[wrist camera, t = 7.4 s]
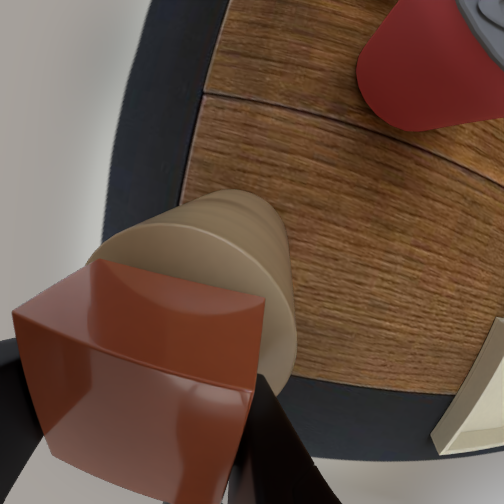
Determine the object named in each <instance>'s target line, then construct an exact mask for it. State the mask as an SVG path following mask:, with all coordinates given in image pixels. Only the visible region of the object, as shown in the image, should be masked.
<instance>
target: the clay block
mask: <svg viewBox="0 0 504 504" xmlns="http://www.w3.org/2000/svg"><path fill="white" fill-rule="evenodd" d="M265 303H266V298H264V297H260V296H256V295H251V294H246V293H242V292H237V291H232V290H228V289H223V288H219V287H215V286H210V285H206V284H201V283H197V282H193V281H188V280H184V279H180V278H176V277H172V276H168V275H163V274H159V273H155V272H151V271H147V270H143V269H139V268H135V267H131V266H127V265H123V264H120V263H116V262H112V261H108V260H104V259H101V258H98V259H96V260H95V261H93V262H91V263H89V264H88V265H86V266H84V267H83V268H81V269H79V270H77V271H76V272H74V273H72V274H71V275H69V276H67V277H66V278H64V279H62V280H61V281H59V282H57V283H56V284H54V285H52V286H51V287H49V288H47V289H46V290H44V291H42V292H41V293H39V294H38V295H36V296H34V297H33V298H31V299H30V300H28V301H27V302H25V303H23V304H22V305H20V306H19V307H17V308H16V309H14V310H13V311H12V318H13V325H14V330H15V335H16V341H17V346H18V350H19V355H20V359H21V363H22V367H23V371H24V375H25V379H26V382H27V386H28V389H29V393H30V396H31V399H32V403H33V406H34V409H35V412H36V415H37V418H38V420H39V423H40V426H41V429H42V431H43V434H44V437H45V439H46V442H47V444H48V446H49V449H50V452H51V454H52V455H53V456H55V457H56V458H58V459H60V460H62V461H65V462H66V463H68V464H70V465H72V466H74V467H76V468H78V469H80V470H82V471H85V472H87V473H89V474H91V475H93V476H96V477H98V478H100V479H103V480H105V481H107V482H110V483H112V484H115V485H117V486H120V487H122V488H125V489H128V490H131V491H133V492H136V493H139V494H142V495H145V496H148V497H151V498H154V499H157V500H161V501H164V502H168V503H171V504H221V502H222V499H223V496H224V493H225V490H226V487H227V484H228V481H229V478H230V474H231V471H232V468H233V465H234V461H235V458H236V455H237V452H238V448H239V445H240V442H241V438H242V435H243V432H244V428H245V425H246V421H247V418H248V415H249V411H250V408H251V404H252V401H253V397H254V394H255V387H256V379H257V371H258V363H259V355H260V346H261V338H262V329H263V321H264V312H265Z"/></svg>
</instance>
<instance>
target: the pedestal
mask: <svg viewBox="0 0 504 504" xmlns="http://www.w3.org/2000/svg"><path fill="white" fill-rule="evenodd" d="M98 258H101V259H104V260H108V261H112V262H116V263H120V264H123V265H127V266H131V267H135V268H139V269H143V270H147V271H151V272H155V273H159V274H163V275H168V276H172V277H176V278H180V279H184V280H188V281H193V282H197V283H201V284H206V285H210V286H215V287H219V288H223V289H228V290H232V291H237V292H242V293H246V294H251V295H256V296H260V297H264V298H266V303H265V312H264V321H263V329H262V338H261V346H260V355H259V363H258V371H257V373H259V374H263V375H264V376H265V378H266V380H267V382H268V384H269V385H270V387H271V389H272V391H273V393H274V394H275V396H277V395H278V394H279V393H280V392H281V390H282V389H283V387H284V386H285V384H286V383H287V381H288V379H289V377H290V375H291V373H292V370H293V367H294V363H295V360H296V352H297V330H296V318H295V306H294V295H293V284H292V274H291V264H290V254H289V244H288V236H287V232H286V229H285V226H284V223H283V221H282V219H281V217H280V216H279V215H278V213H277V212H276V210H275V209H274V208H273V207H272V206H271V205H270V204H269V203H267V202H266V201H265V200H264V199H262V198H260V197H259V196H257V195H255V194H252V193H250V192H246V191H243V190H236V189H226V190H219V191H215V192H212V193H210V194H207V195H205V196H202V197H200V198H197V199H195V200H193V201H190V202H188V203H185V204H183V205H181V206H178V207H176V208H174V209H171V210H169V211H167V212H164V213H162V214H160V215H157V216H155V217H153V218H150V219H148V220H146V221H144V222H141V223H139V224H137V225H135V226H133V227H130V228H128V229H126V230H124V231H122V232H120V233H117V234H115V235H114V236H112V237H111V238H109V239H108V240H107V241H105V242H104V243H103V244H102V245H101V246H100V247H99V248H98V249H97V250H96V251H95V252H94V253H93V254H92V256H91V257H90V258H89V260H88V261H87V263H86V265H88V264H89V263H91V262H93V261H95V260H96V259H98ZM86 265H85V266H86Z"/></svg>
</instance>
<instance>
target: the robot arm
mask: <svg viewBox="0 0 504 504" xmlns="http://www.w3.org/2000/svg"><path fill="white" fill-rule="evenodd" d="M43 436H44V434H43V431H42V429H41V426H40V423H39V420H38V418H37V415H36V412H35V409H34V406H33V403H32V399H31V396H30V393H29V389H28V386H27V382H26V379H25V375H24V371H23V367H22V363H21V359H20V355H19V350H18V346H17V341H16V338H12V339H7V340H3V341H0V504H3V503H4V501H5V498H6V497H7V495H8V493H9V491H10V490H11V488H12V487H13V485H14V483H15V481H16V480H17V478H18V476H19V475H20V473H21V471H22V470H23V468H24V466H25V465H26V463H27V461H28V460H29V458H30V457H31V455H32V453H33V452H34V450H35V449H36V447H37V445H38V444H39V442H40V441H41V439H42V437H43ZM228 504H342V503H341V502H340V501H339V499H338V498H337V497H336V495H335V494H334V493H333V491H332V490H331V488H330V487H329V486H328V484H327V482H326V481H325V479H324V478H323V476H322V475H321V473H320V471H319V470H318V468H317V466H315V465H314V462H313V460H312V458H311V457H310V455H309V453H308V452H307V450H306V448H305V447H304V445H303V443H302V441H301V440H300V438H299V436H298V435H297V433H296V431H295V429H294V428H293V426H292V424H291V423H290V421H289V419H288V417H287V416H286V414H285V412H284V410H283V409H282V407H281V405H280V403H279V401H278V400H277V398H276V396H275V394H274V393H273V391H272V389H271V387H270V385H269V384H268V382H267V380H266V378H265V376H264V375H263V374H259V373H257V379H256V387H255V394H254V397H253V401H252V404H251V408H250V411H249V415H248V418H247V421H246V425H245V428H244V432H243V435H242V438H241V442H240V445H239V448H238V452H237V455H236V458H235V461H234V465H233V468H232V471H231V474H230V478H229V490H228Z"/></svg>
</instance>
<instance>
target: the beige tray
mask: <svg viewBox="0 0 504 504" xmlns="http://www.w3.org/2000/svg"><path fill="white" fill-rule="evenodd" d="M430 435H431V437H432V440H433V442H434V445H435V447H436V449H437V451H438V454H439V455H445V454H454V453H462V452H469V451H475V450H481V449H487V448H492V447H497V446H502V445H504V318H500V317H496V318H495V321H494V323H493V325H492V327H491V330H490V332H489V334H488V336H487V338H486V340H485V343H484V345H483V347H482V349H481V351H480V353H479V355H478V357H477V359H476V361H475V362H474V364H473V366H472V368H471V370H470V372H469V374H468V375H467V377H466V379H465V381H464V382H463V384H462V386H461V388H460V389H459V391H458V393H457V394H456V396H455V398H454V399H453V401H452V402H451V404H450V406H449V407H448V409H447V410H446V412H445V413H444V415H443V416H442V418H441V419H440V421H439V422H438V424H437V425H436V427H435V428H434V430H433V431H432V432H431V434H430Z"/></svg>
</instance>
